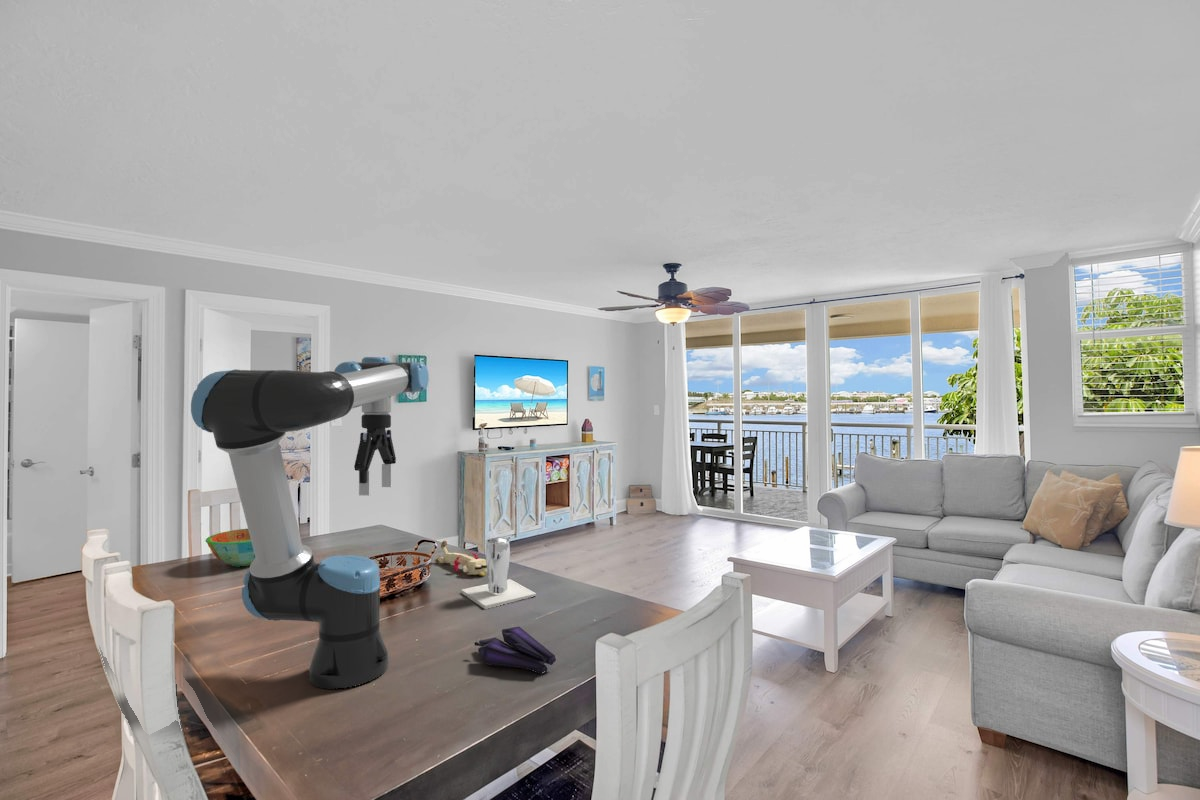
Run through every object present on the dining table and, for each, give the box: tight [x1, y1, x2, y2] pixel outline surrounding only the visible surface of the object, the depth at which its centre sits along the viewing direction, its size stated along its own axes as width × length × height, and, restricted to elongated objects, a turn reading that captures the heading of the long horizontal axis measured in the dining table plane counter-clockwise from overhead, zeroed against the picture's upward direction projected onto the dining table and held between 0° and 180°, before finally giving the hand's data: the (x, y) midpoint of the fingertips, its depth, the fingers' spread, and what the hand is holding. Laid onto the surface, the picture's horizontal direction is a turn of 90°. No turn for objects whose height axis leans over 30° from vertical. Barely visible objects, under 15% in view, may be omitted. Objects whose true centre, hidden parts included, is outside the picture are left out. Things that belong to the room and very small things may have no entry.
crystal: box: [474, 626, 557, 674], centre depth 124 cm, size 7×12×20 cm
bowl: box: [205, 528, 256, 568], centre depth 195 cm, size 22×22×10 cm
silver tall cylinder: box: [485, 537, 511, 595], centre depth 165 cm, size 7×7×15 cm
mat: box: [460, 578, 537, 610], centre depth 165 cm, size 16×16×1 cm
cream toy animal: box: [434, 540, 488, 576], centre depth 190 cm, size 10×9×25 cm
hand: (376, 491), depth 156 cm, fingers open, 13 cm apart
